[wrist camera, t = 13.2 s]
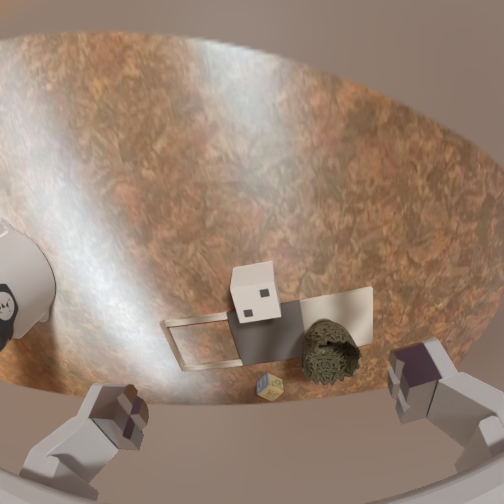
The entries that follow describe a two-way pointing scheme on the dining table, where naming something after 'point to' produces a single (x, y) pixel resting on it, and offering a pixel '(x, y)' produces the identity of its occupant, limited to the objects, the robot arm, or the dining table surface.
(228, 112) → the dining table surface
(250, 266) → the die
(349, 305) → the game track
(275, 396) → the alphabet block
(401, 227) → the dining table surface
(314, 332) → the cup
